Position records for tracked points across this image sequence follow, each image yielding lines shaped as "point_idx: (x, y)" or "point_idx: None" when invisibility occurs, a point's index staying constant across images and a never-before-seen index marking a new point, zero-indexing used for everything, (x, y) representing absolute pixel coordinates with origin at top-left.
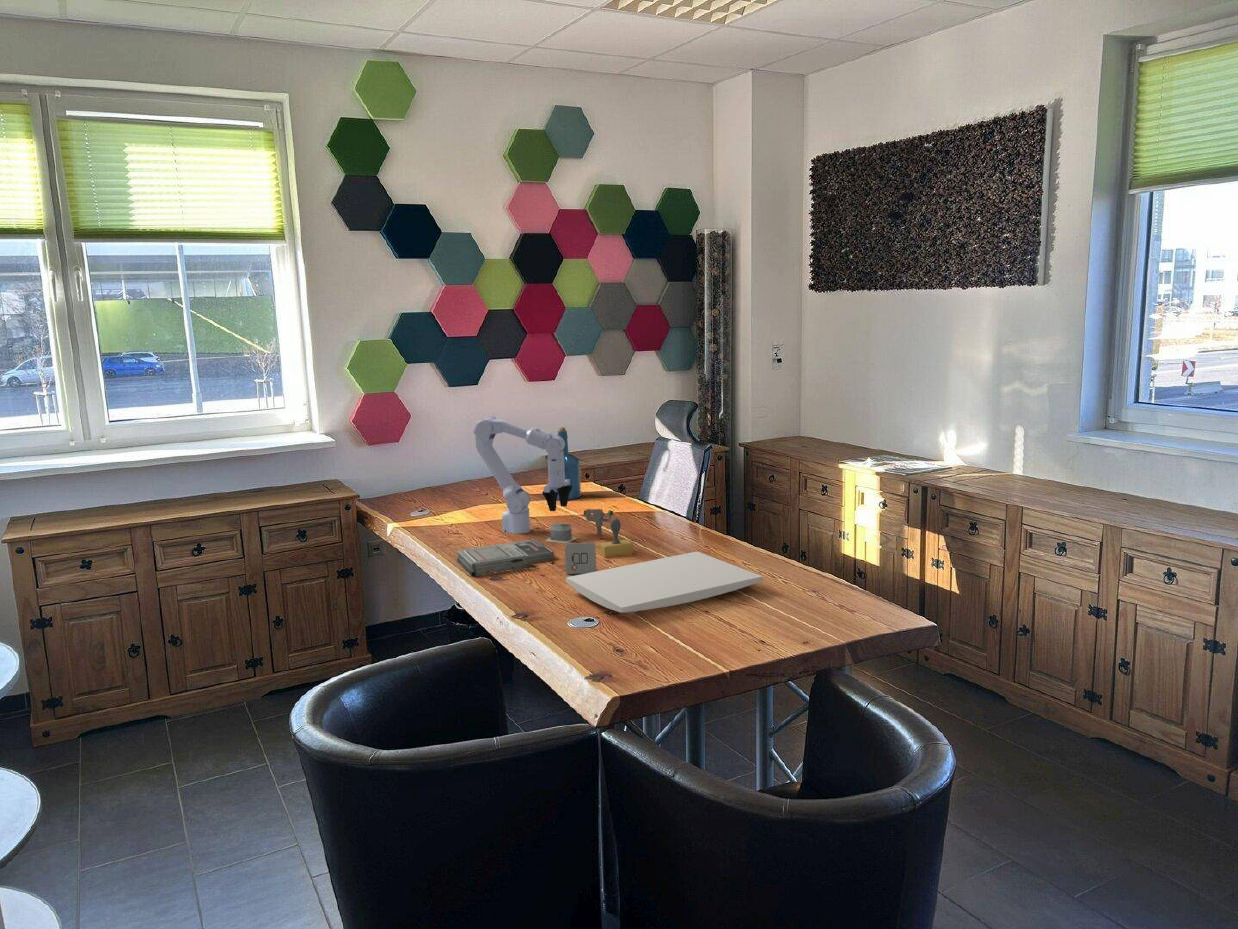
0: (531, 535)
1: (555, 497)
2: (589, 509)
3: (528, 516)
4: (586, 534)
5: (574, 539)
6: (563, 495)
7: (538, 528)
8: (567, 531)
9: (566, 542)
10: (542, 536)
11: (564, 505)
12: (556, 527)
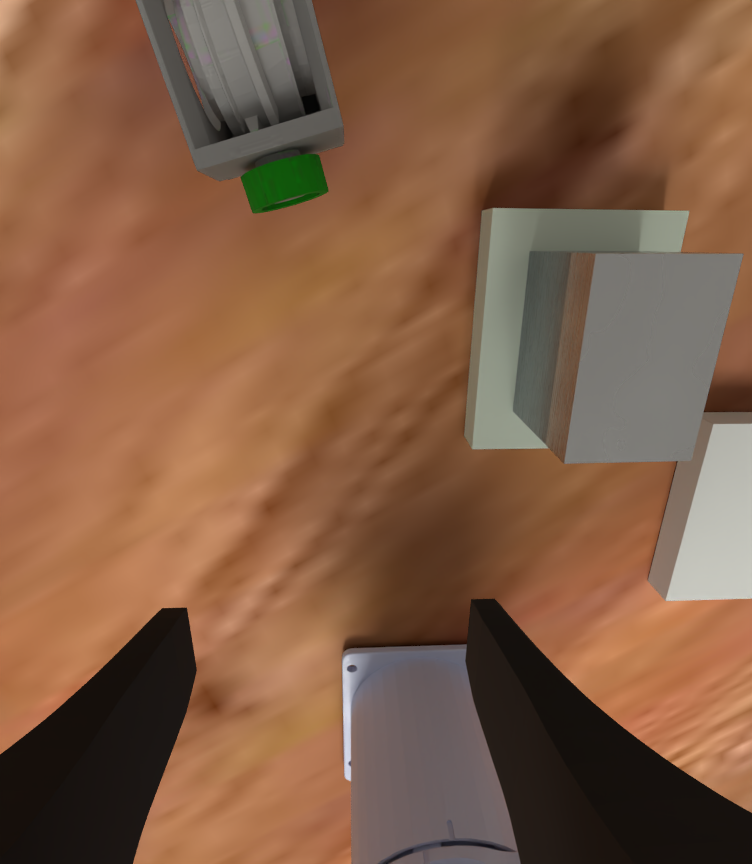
0: (393, 644)
1: (651, 773)
2: (183, 114)
3: (428, 789)
4: (201, 276)
5: (551, 209)
6: (110, 805)
7: (211, 696)
8: (656, 252)
9: (674, 227)
10: (394, 571)
11: (183, 636)
12: (702, 379)
